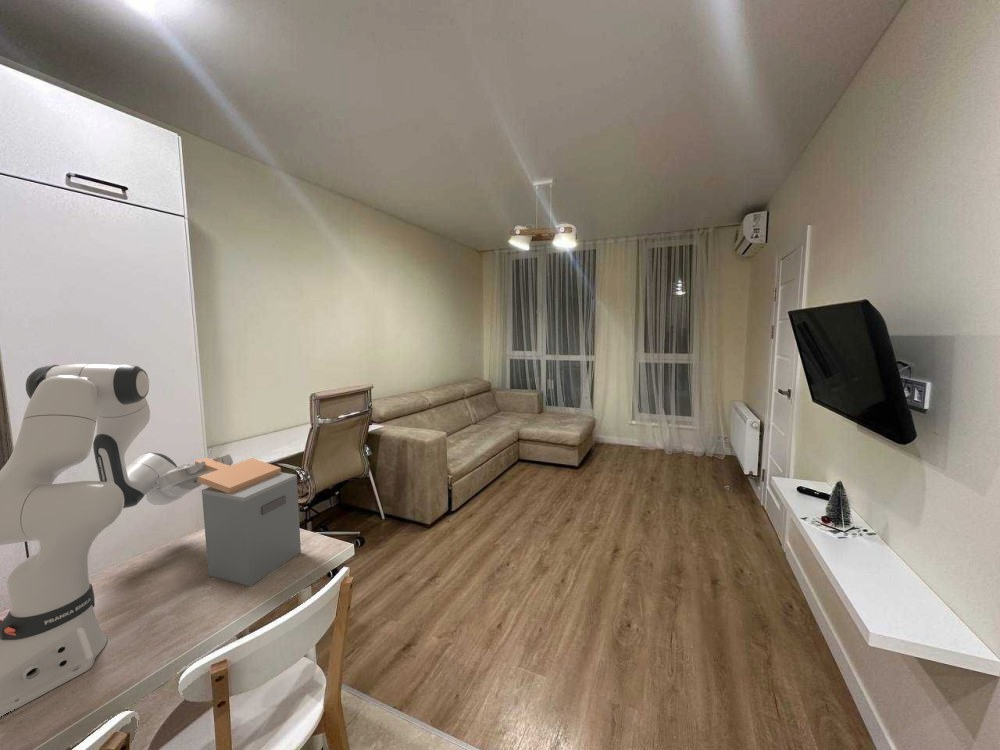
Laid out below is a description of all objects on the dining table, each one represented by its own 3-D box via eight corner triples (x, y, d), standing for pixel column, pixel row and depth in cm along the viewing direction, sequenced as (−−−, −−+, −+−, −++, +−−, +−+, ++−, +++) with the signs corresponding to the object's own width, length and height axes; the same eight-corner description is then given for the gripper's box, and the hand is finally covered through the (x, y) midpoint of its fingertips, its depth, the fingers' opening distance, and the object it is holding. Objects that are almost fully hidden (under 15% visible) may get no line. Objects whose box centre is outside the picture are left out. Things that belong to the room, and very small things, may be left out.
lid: (229, 493, 108) (229, 487, 107) (171, 472, 114) (171, 466, 114) (280, 472, 124) (280, 467, 123) (227, 454, 130) (227, 449, 130)
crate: (251, 586, 108) (245, 497, 105) (208, 575, 113) (201, 490, 110) (301, 552, 125) (297, 474, 122) (262, 543, 130) (258, 469, 127)
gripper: (144, 481, 115) (170, 463, 111) (213, 459, 135) (237, 443, 130) (153, 500, 115) (179, 482, 110) (220, 475, 134) (245, 460, 130)
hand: (211, 461), depth 120 cm, fingers closed on lid, 3 cm apart
